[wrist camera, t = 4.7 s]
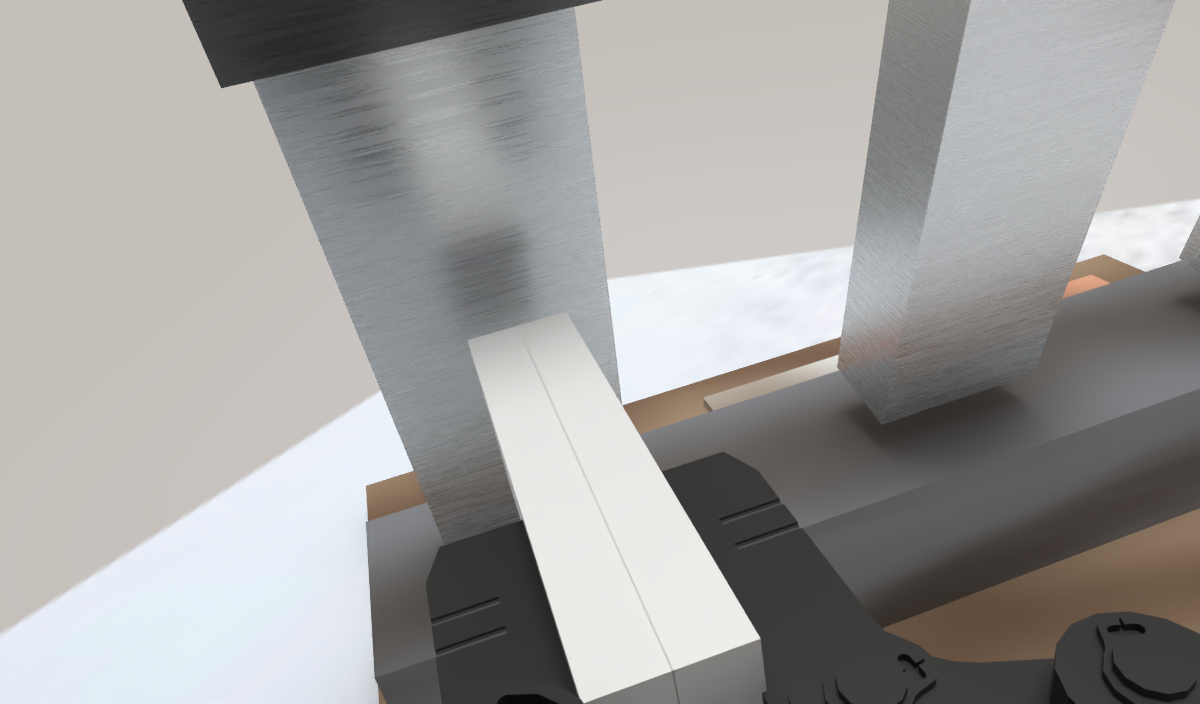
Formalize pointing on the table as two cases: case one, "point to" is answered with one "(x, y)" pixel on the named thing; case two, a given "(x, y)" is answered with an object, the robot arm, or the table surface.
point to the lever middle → (983, 186)
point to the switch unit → (930, 484)
